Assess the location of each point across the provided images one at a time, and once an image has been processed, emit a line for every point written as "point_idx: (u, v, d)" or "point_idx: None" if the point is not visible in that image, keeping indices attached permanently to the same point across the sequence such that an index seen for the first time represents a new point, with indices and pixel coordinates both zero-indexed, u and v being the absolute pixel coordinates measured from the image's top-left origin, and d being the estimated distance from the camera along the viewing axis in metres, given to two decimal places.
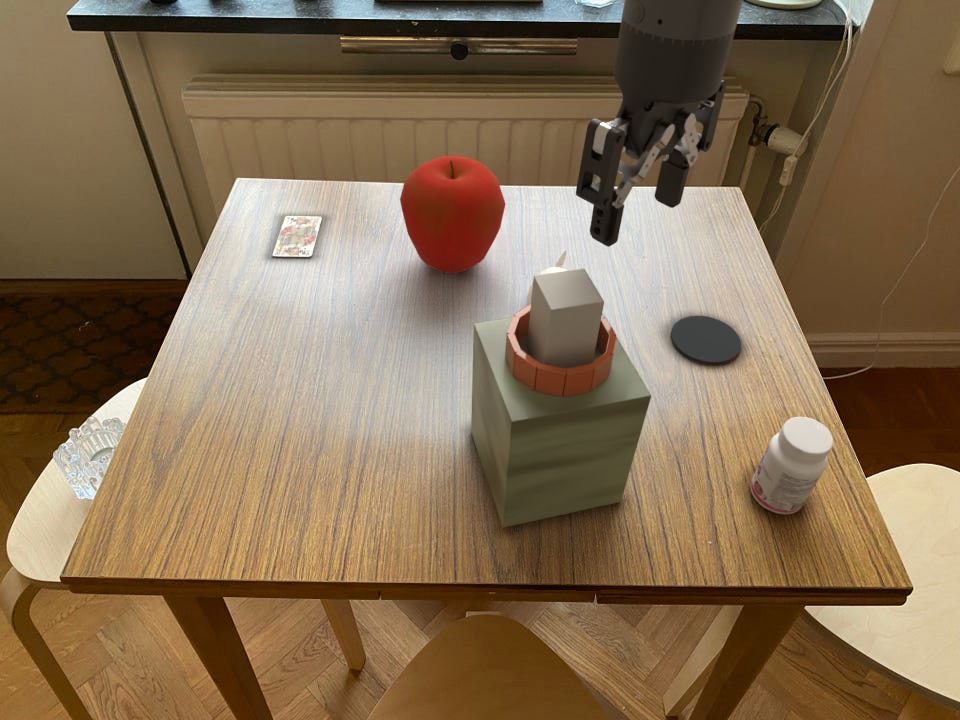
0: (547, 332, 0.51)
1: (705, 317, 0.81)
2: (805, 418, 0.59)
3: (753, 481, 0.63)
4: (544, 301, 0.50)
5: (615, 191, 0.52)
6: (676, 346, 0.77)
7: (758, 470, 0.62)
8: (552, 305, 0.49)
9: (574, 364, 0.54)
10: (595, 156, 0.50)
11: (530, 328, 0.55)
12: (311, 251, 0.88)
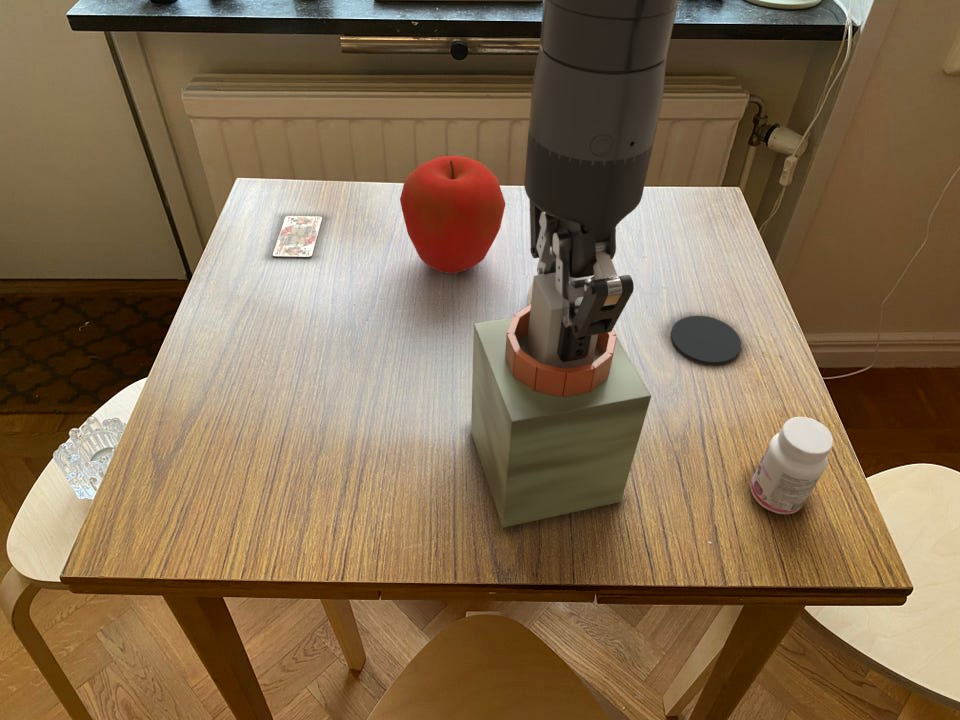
0: (547, 332, 0.51)
1: (705, 317, 0.81)
2: (805, 418, 0.59)
3: (753, 481, 0.63)
4: (544, 301, 0.50)
5: None
6: (676, 346, 0.77)
7: (758, 470, 0.62)
8: (552, 305, 0.49)
9: (574, 364, 0.54)
10: None
11: (530, 328, 0.55)
12: (311, 251, 0.88)
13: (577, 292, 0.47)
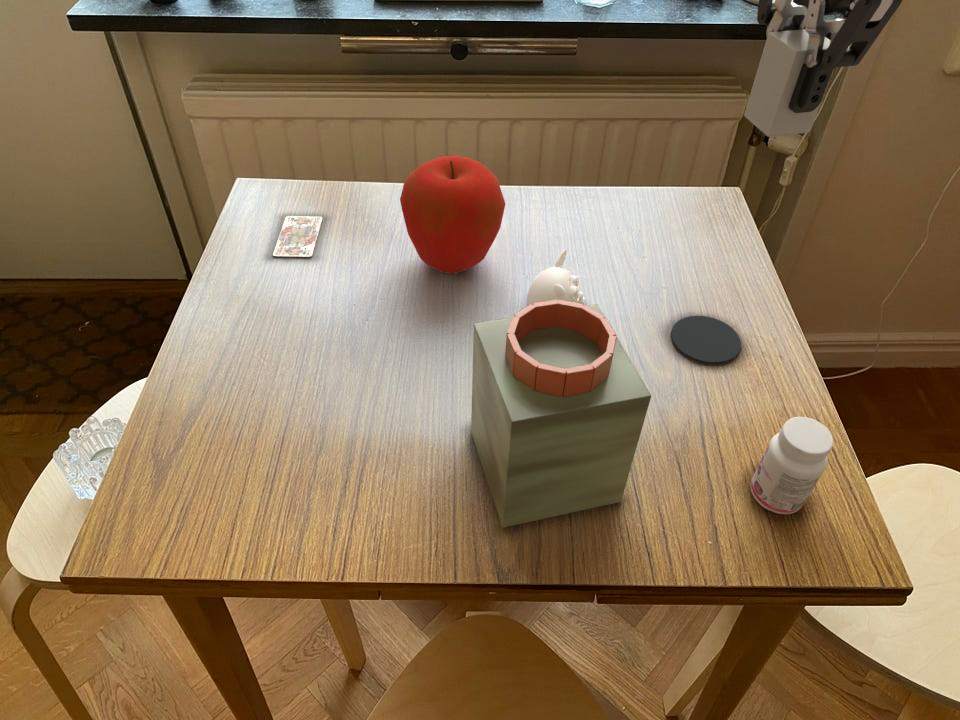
0: (786, 79, 0.55)
1: (705, 317, 0.81)
2: (805, 418, 0.59)
3: (753, 481, 0.63)
4: (784, 49, 0.55)
5: None
6: (676, 346, 0.77)
7: (758, 470, 0.62)
8: (796, 48, 0.54)
9: (798, 122, 0.58)
10: None
11: (753, 93, 0.59)
12: (312, 251, 0.88)
13: (828, 27, 0.52)
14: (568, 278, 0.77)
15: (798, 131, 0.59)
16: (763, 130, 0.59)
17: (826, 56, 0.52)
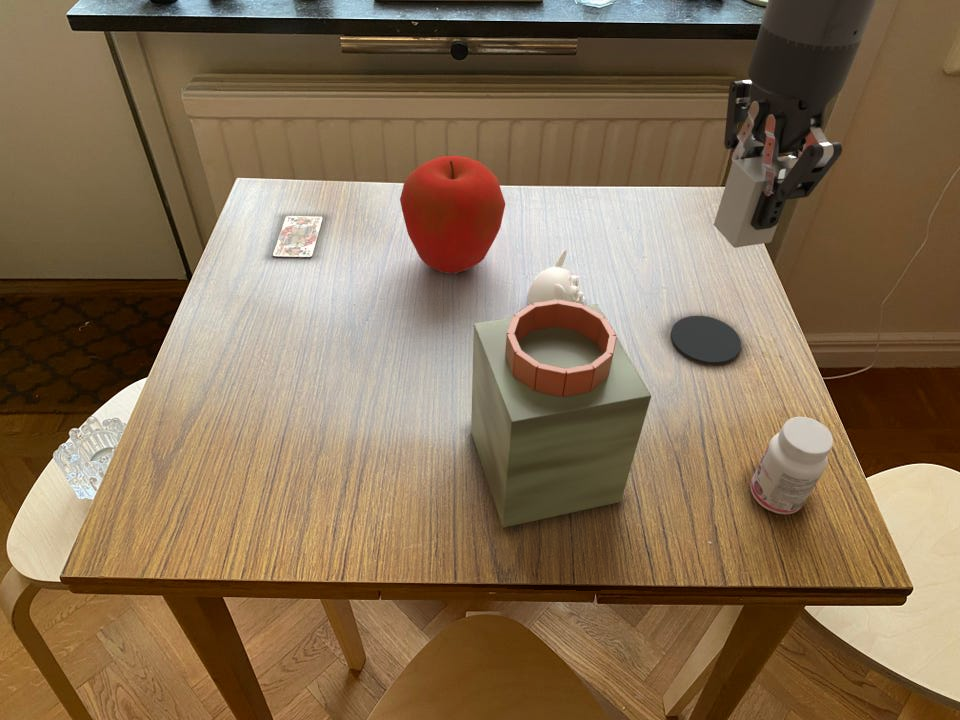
0: (747, 203, 0.63)
1: (705, 317, 0.81)
2: (805, 418, 0.59)
3: (753, 481, 0.63)
4: (745, 177, 0.63)
5: None
6: (676, 346, 0.77)
7: (758, 470, 0.62)
8: (755, 178, 0.62)
9: (760, 235, 0.66)
10: None
11: (721, 208, 0.67)
12: (312, 251, 0.88)
13: (782, 165, 0.60)
14: (568, 278, 0.77)
15: (760, 242, 0.67)
16: (729, 241, 0.67)
17: (780, 190, 0.60)
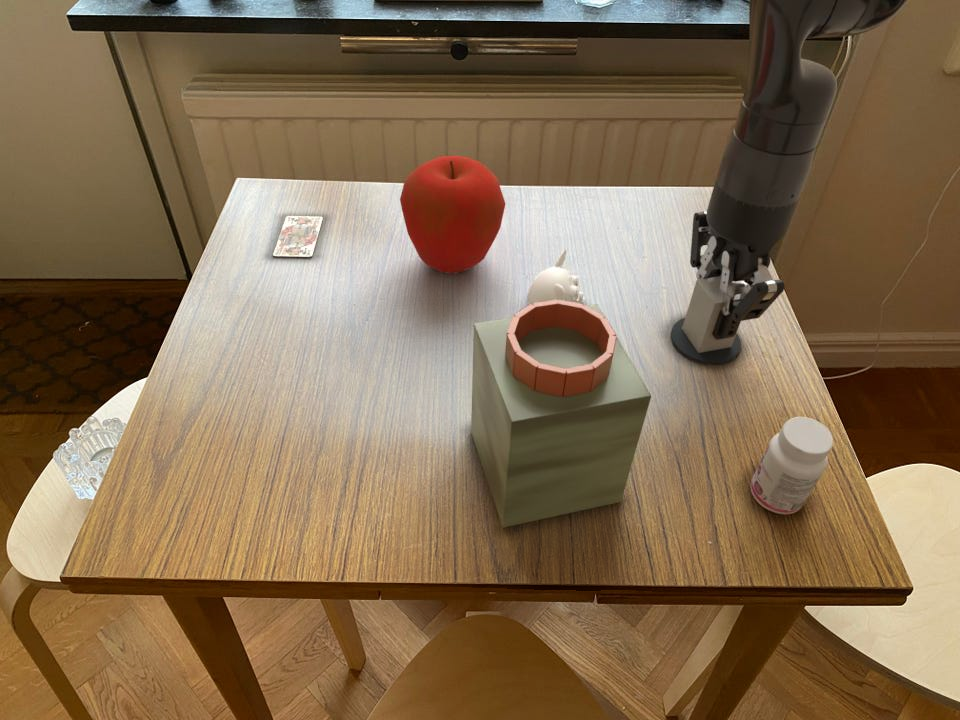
0: (708, 319, 0.73)
1: None
2: (805, 418, 0.59)
3: (753, 481, 0.63)
4: (707, 297, 0.73)
5: None
6: (676, 346, 0.77)
7: (758, 470, 0.62)
8: (714, 300, 0.72)
9: (721, 342, 0.76)
10: None
11: (687, 317, 0.77)
12: (312, 251, 0.88)
13: (736, 291, 0.70)
14: (568, 278, 0.77)
15: (721, 347, 0.77)
16: (695, 346, 0.77)
17: (734, 313, 0.70)
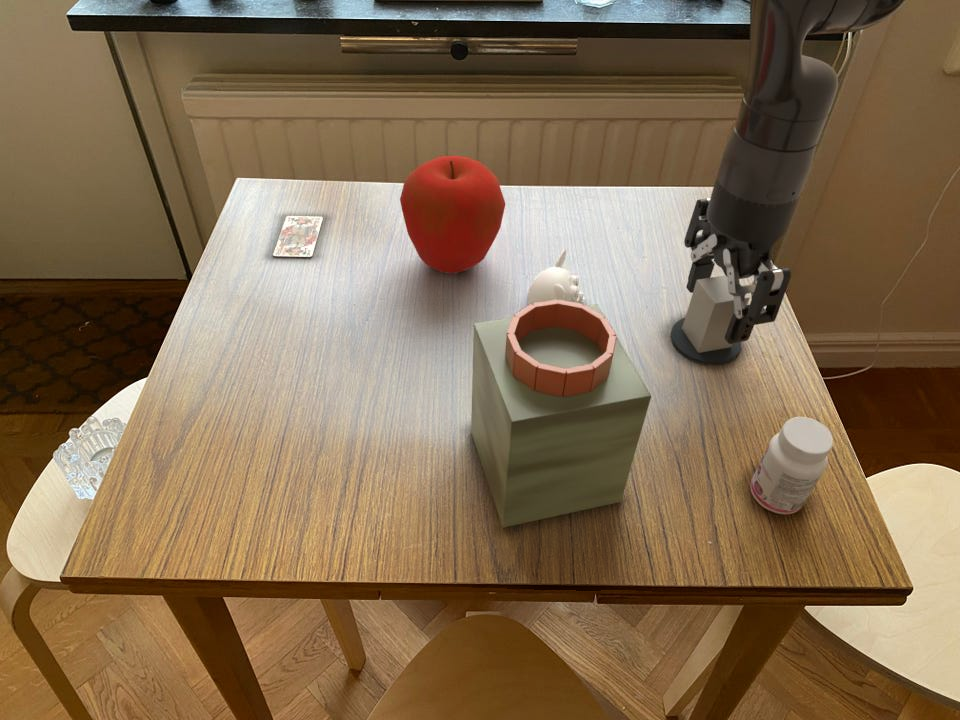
0: (708, 319, 0.73)
1: None
2: (805, 418, 0.59)
3: (753, 481, 0.63)
4: (707, 297, 0.73)
5: None
6: (676, 346, 0.77)
7: (758, 470, 0.62)
8: (714, 300, 0.72)
9: (721, 342, 0.76)
10: None
11: (687, 317, 0.77)
12: (312, 251, 0.88)
13: (745, 290, 0.68)
14: (568, 278, 0.77)
15: (721, 347, 0.77)
16: (695, 346, 0.77)
17: (748, 317, 0.67)
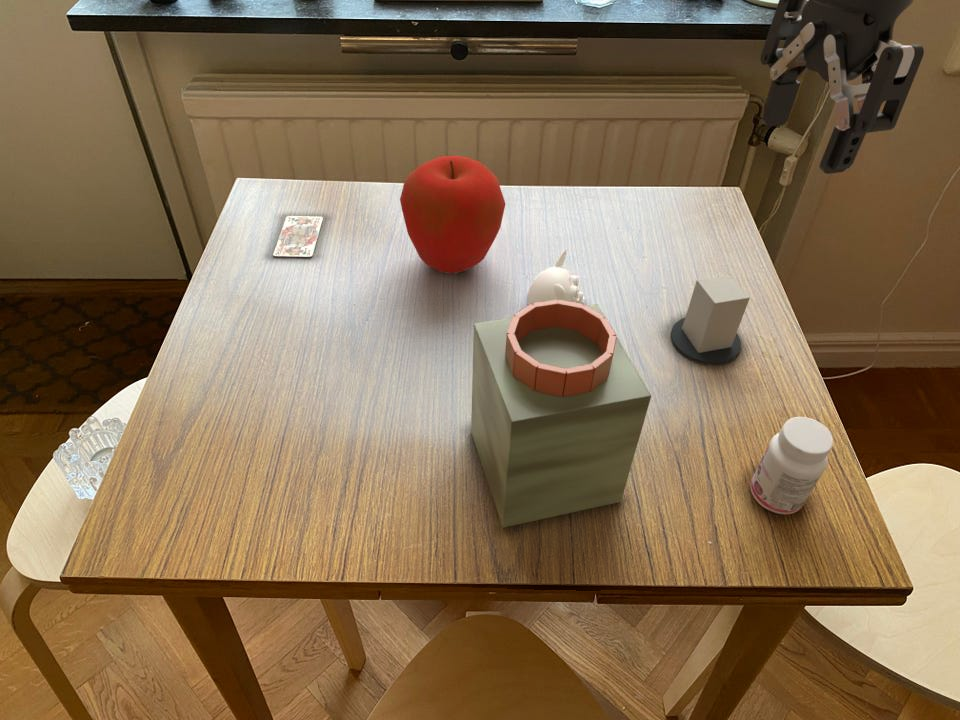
0: (708, 319, 0.73)
1: None
2: (805, 418, 0.59)
3: (753, 481, 0.63)
4: (707, 297, 0.73)
5: None
6: (676, 346, 0.77)
7: (758, 470, 0.62)
8: (714, 300, 0.72)
9: (721, 342, 0.76)
10: (890, 83, 0.49)
11: (687, 317, 0.77)
12: (312, 251, 0.88)
13: (854, 89, 0.52)
14: (568, 278, 0.77)
15: (721, 347, 0.77)
16: (695, 346, 0.77)
17: (859, 122, 0.51)
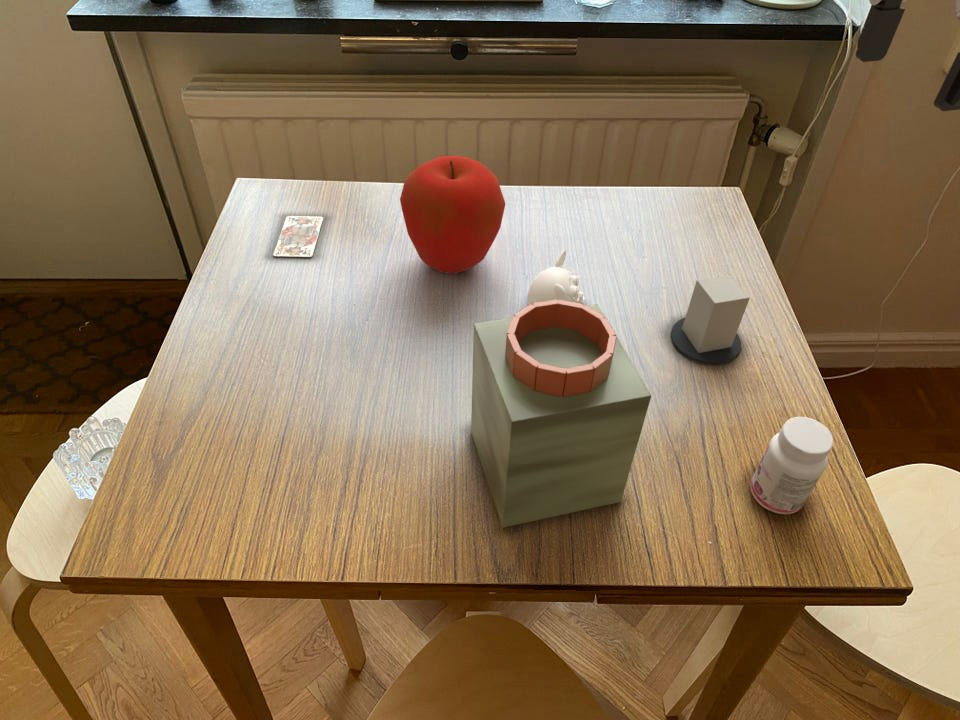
0: (708, 319, 0.73)
1: None
2: (805, 418, 0.59)
3: (753, 481, 0.63)
4: (707, 297, 0.73)
5: None
6: (676, 346, 0.77)
7: (758, 470, 0.62)
8: (714, 300, 0.72)
9: (721, 342, 0.76)
10: None
11: (687, 317, 0.77)
12: (312, 251, 0.88)
13: None
14: (568, 278, 0.77)
15: (721, 347, 0.77)
16: (695, 346, 0.77)
17: None
